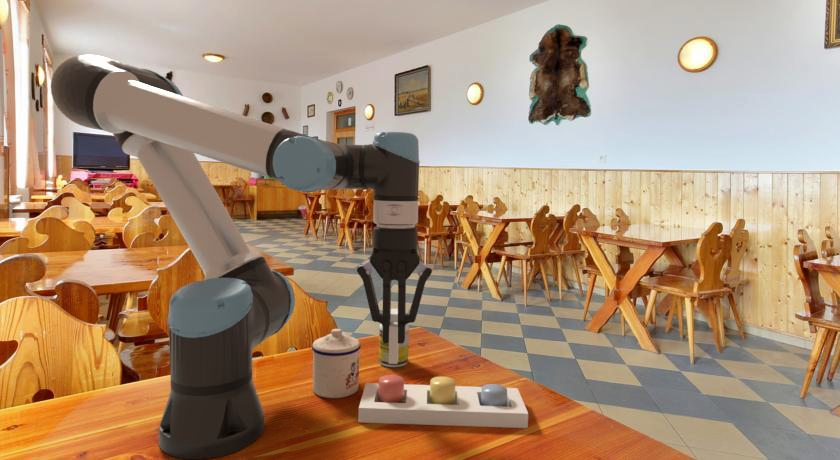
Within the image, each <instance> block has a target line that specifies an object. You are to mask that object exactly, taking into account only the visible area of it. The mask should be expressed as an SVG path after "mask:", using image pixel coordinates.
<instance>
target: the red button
mask: <svg viewBox="0 0 840 460" xmlns="http://www.w3.org/2000/svg"><path fill="white" fill-rule="evenodd" d="M378 383H379V394H378V400H379V402H385V403H402V402H403V400H404V384H405V379H404V377H402V376H401V375H397V374H385V375H382V376H380V377H379V378H378Z"/></svg>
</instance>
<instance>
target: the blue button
mask: <svg viewBox="0 0 840 460" xmlns="http://www.w3.org/2000/svg"><path fill="white" fill-rule="evenodd" d="M481 387H482V393H481V405H480V406H502V407H506V405H507V389H506V388H507V387H505V386H504V385H501V384H497V383H486V384H483V385H482V386H481Z"/></svg>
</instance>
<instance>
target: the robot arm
mask: <svg viewBox="0 0 840 460" xmlns="http://www.w3.org/2000/svg"><path fill="white" fill-rule="evenodd" d="M50 92H51V93H50V94H51V97H52V100H53V102H54V104H55V105H56V107H57V109H58V110H59V111H60V112H61V114H63V115H64V116H65V118H67V119H68V120H69V121H71V122H73V123H75V124H77V125H79V126H82V127H84V128H85V127H86V128H89V129H95V130H98V131H99V130H101V131H104V132H108V133H110V134H113V136H114V138H115V140H116V142H117V143H118V145H119V146H120V148H121V150H122V152H123V153H124V154H125V155H129V156H131V157H136V158H137V159H138V161H139V162H140V164H141V166H142V168H143V169H144V171H145V172H146V174H147V176H148V178H149V179H150V181H151V183H152V184H153V186H154V188H155V190H156V193H157V194H158V196H159V197H160V198H161V201H162V202H163V203H164V206H165V208H166V209H167V211H168V212H169V214H170V216H171V218H172V220H173V221H174V223H175V224H176V227H177V229H179V232H180V234H181V235H182V237H183V238H184V241H185V242H186V244H187V245H188V247H189V249H190V250H191V252H192V255H193V256H194V258H195V259H196V261H197V263H198V265H199V267H200V268H201V270H202V271H203V273H204V279H203V280H197V281H194V282H191V283H188V284H186V285H184V286H181V287H179V288H178V289H177V290H176V291H175V292H174V293H173V294H172V295H171V298H170V299H169V307H168V308H169V309H168V316H167V325H168V333H169V334H168V337H169V338H168V339H169V340H168V341H169V364H170V365H169V368H170V369H169V373H170V392H169V396H168V398H167V401H166V405H165V408H164V411H163V413H162V417H161V420H160V423H159V426H158V446H159V448H160V450H162V451H163V452H164V453H165V454H166V455H169V456H171V457H174V458H178V459H184V460H202V459H203V460H204V459H212V458H217V457H222V456H226V455H229V454H232V453H234V452H237V451H240V450H243V449H245V448H246V447H248V446H250V445H251V444H254V442H255V441H256V440H258V438H260V436H261V435H262V434H263V432H264V430H265V412H264V409H263V406H262V403H261V401H260V398H259V395H258V393H257V392H258V391H257V389H256V387H255V385H254V381H253V349H254V348H256V347H257V346H259V344H261V343H263V342H264V341H265V340H267V339H268V338H269V337H272V336H274V335H276V334H277V333H279V332H280V331H281V329H282V328H283V327H284V326H286V324H287V323H288V321H290V320H291V317H292V315H293V313H294V311H295V305H296V294H295V291H294V287H293V285H292V283H291V282H290V281H289V279H288V278H287V277H286V276H285V275H284V274H283V273H281V272H278V271H275V270H274V269H272V268H271V267H270V265H269V264H268V262H267V260H266V258H265V257H264V256H263V255H262V254H261V253H257V252H253V251H251V250H250V248H249V246H248V245H247V242H246V241H245V240H244V238H243V236H242V234H241V232H240V231H239V229H238V228H237V225H236V224H235V222H234V221H233V218H232V216H231V215H230V213H229V211H228V210H227V208H226V206H225V205H224V203H223V202H222V200H221V197H220V196H219V193H217V191H216V189H215V187H214V185H213V183H212V182H211V181H210V179H209V177H208V175H207V174H206V171H205V169H204V168H203V167H202V165H201V163H200V161H199V159H198V158H197V156H196V155H200V156H203V157H206V158H208V159H212V160H215V161H218V162H221V163H222V164H223V163H224V164H227V165H231V166H233V167H236V168H240V169H242V170H246V171H249V172H251V173H255V174H256V175H257V174H258V175H260V176H264V177H267V178H269V179H273V180H275V181H277V182H280V183H281V184H282V185H284V186H285V187H287V188H288V189H290V190H293V191H298V192H302V193H312V192H317V191H329V190H364V191H365V190H366V191H370V190H372V191H373V204H372V205H373V212H372V213H373V218H372V222H373V223H374V224H375V226H373V227H374V228H373V229H372V252H371V255H370V257H369V260H367V261H366V262H365V263H364V264H363V263H360V265H358V267H357V269H356V272H357V273H358V275H359V277H360V278H361V280H362V282H363V286H364V287H363V288H364V290H365V295H366V299H367V304H368V307H369V311H370V317H371V320H372V321H373V322H374V323H379V324H382V326H383V338H382V340H383V343H389V364H397V362H398V343H402V344H403V343H404V341H405V325H406V324H408V325H409V324H413V323H415V322H416V319H417V316H418V311H419V308H420V303H421V301H422V297H423V293H424V290H425V286H426V283H427V281H428V279H429V278H430V276H431V275H432V273H433V270H432V269H433V268H432V266H431V265H427V264H425V263H424V262H422V261H421V257H420V255H419V253H418V236H419V235H418V234H419V233H418V232H419V229H418V228H417V227H416V226H415V225H417V224H418V223H419V179H420V178H419V177H420V164H421V163H420V153H419V152H420V151H419V148H420V147H419V139H418V137H417V136H416V135H415V134H414V133H411V132H404V131H403V132H402V131H386V132H385V131H381V132H377V133H375V134H374V138H373V141H372V143H371V144H370V143H369V144H343V143H335V142H333V141H332V142H330V141H329V140H328V141H327V140H322V139H319V138H317V137H313V136H310V135H306V134H303V133H299V132H297V131H293V130H289V129H287V128H284V127H282V126H281V127H280V126H277V125H274V124H271V123H267V122H264V121H261V120H258V119H256V118H253V117H249V116H246V115H243V114H240V113H237V112H235V111H231V110H227V109H225V108H221V107H218V106H215V105H212V104H209V103H206V102H202V101H199V100H197V99H193V98H190V97H187V96H184V95H183V94H182V92H181V90H180V89H179V87H178V86H177V85H176V84H175V83H174V82H172V80H170V79H168V78H167V77H165V76H163V75H161V74H159V73H158V72H155V71H153V70H150V69H147V68H140V67H136V66H134V65H130V64H126V63H124V62H121V61H117V60H115V59H111V58H110V57H109V58H108V57H106V56H101V55H97V54H81V55H80V54H79V55H75V56H72V57H70V58H67V59H66V60H64V61H63V62H62V63H60V64H59V65H58V66H57V68H56V69H55V70H54V72H53V74H52V77H51V81H50ZM373 269H374V270H375V272H376V273H377V274H378V276H379V277H380V279H382V313H381V312H380V307H379V303H378V299H377V294H376V290H375V289H376V288H375V286H374V281H373V278H372V273H373ZM416 269H417V276H418V279H417V283H416V287H415V291H414V295H413V298H412V302H411V305H410V310H409V313H406V315H405V312H406V308H407V306H406V304H407V303H406V301H407V297H406V295H407V293H406V292H407V280H408V279H410V277H411V275H412V274H413V273H414V271H415V270H416ZM392 281H397V309H398V322H390V319H391V309H392V308H391V307H392V304H391V303H392Z"/></svg>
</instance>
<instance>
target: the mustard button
mask: <svg viewBox="0 0 840 460" xmlns="http://www.w3.org/2000/svg"><path fill="white" fill-rule="evenodd" d="M429 382H430V383H429V385H430V403H431V404H444V405H454V403H455V386H457V384H456V383H457V382H456V380H455V379H454V378H451V377H449V376H434V377H433V378H431V379H430V381H429Z"/></svg>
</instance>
